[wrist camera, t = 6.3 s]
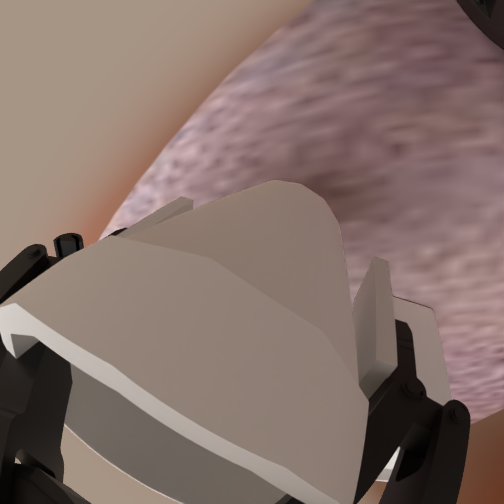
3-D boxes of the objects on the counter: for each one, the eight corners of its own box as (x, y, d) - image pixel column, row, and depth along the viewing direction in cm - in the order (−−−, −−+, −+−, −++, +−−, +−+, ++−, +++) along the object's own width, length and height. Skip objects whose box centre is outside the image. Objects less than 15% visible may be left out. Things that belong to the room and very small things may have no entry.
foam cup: (206, 286, 19) (79, 444, 9) (202, 144, 15) (-41, 252, 4) (349, 320, 17) (301, 539, 6) (386, 168, 12) (476, 449, 2)
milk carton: (404, 351, 31) (405, 495, 15) (354, 337, 32) (332, 488, 16) (432, 308, 27) (459, 465, 11) (378, 290, 29) (377, 460, 13)
